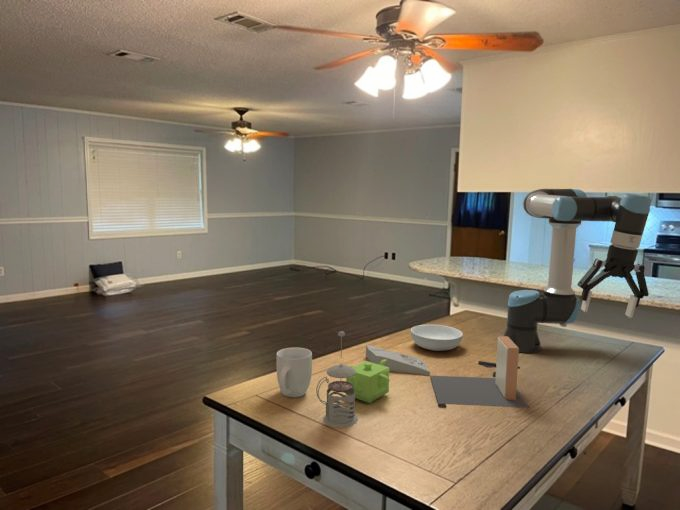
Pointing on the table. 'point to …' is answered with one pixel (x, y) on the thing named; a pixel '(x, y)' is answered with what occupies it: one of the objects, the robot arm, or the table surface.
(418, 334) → the serving bowl
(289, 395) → the mug
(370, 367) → the teapot
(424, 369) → the ramp
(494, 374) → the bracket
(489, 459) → the table surface
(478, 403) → the mat
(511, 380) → the tile
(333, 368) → the french press
